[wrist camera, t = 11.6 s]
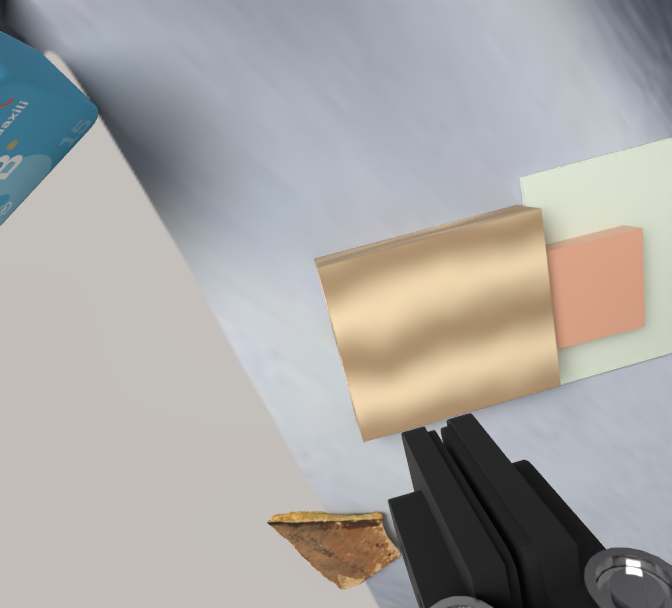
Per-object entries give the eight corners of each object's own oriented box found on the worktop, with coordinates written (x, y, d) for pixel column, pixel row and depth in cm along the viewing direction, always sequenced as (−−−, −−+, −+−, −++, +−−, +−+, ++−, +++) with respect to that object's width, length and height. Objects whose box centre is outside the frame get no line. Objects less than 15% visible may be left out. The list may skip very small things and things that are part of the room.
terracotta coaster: (527, 249, 36) (541, 253, 34) (623, 225, 36) (642, 227, 34) (536, 342, 38) (550, 351, 36) (626, 319, 38) (645, 326, 36)
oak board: (314, 258, 34) (317, 268, 31) (516, 205, 35) (541, 208, 32) (356, 418, 38) (363, 442, 35) (536, 367, 39) (560, 385, 36)
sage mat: (519, 177, 34) (521, 177, 34) (692, 131, 35) (696, 131, 35) (544, 386, 40) (547, 388, 39) (694, 343, 40) (698, 345, 40)
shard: (267, 510, 40) (266, 525, 39) (336, 460, 40) (338, 472, 38) (340, 581, 43) (343, 598, 42) (405, 535, 43) (410, 550, 41)
